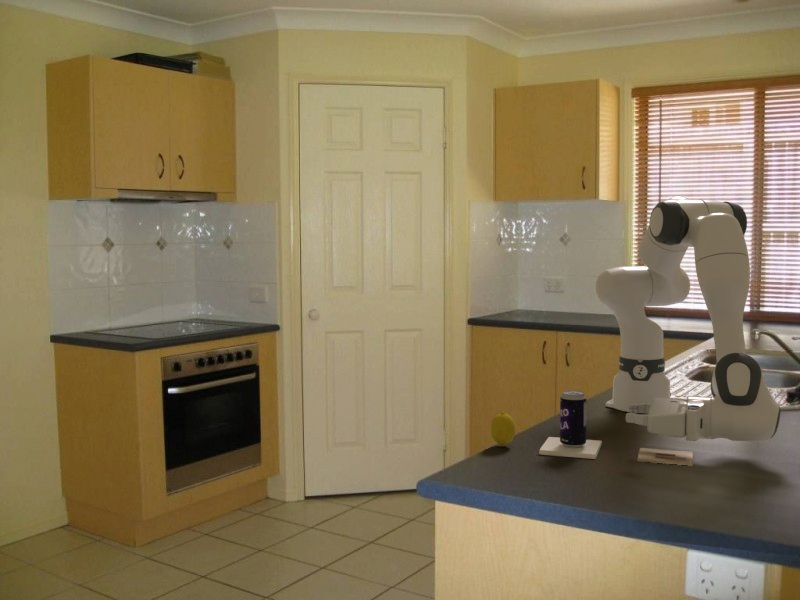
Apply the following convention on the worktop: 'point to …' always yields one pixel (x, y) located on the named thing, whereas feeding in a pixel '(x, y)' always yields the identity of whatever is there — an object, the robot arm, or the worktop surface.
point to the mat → (570, 449)
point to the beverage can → (573, 419)
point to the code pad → (665, 456)
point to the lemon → (503, 428)
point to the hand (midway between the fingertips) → (627, 412)
